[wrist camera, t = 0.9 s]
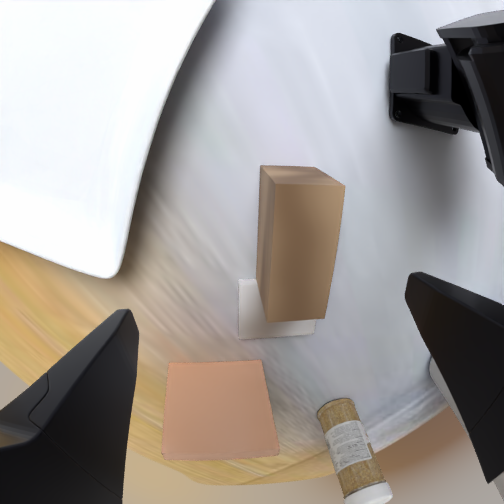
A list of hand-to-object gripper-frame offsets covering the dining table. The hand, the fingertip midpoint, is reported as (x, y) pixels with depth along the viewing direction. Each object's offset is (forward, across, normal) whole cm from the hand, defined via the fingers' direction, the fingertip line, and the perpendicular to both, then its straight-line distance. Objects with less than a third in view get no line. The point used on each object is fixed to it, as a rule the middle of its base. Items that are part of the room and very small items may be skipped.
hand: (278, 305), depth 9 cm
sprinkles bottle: (+11, -8, +25) cm, 29 cm away
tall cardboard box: (+11, -2, +5) cm, 12 cm away
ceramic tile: (+11, +4, +15) cm, 19 cm away
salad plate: (+12, +13, -10) cm, 21 cm away
